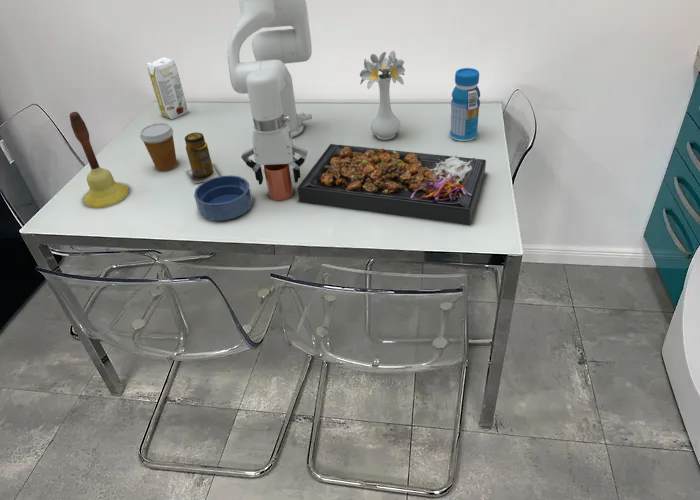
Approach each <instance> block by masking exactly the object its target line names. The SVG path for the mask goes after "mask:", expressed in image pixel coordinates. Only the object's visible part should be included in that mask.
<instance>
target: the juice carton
mask: <svg viewBox="0 0 700 500" xmlns="http://www.w3.org/2000/svg"><path fill="white" fill-rule="evenodd" d="M146 68H147V74H148V76H149V80H150V83H151V86H152V90H153V93H154V97H155V100H156V103H157V107H158V110H159V112H160V114H161V116H162V117H165V118H167V119H169V120H175V119H177V118H179V117H181V116H183V115H185V114H187V113H188V112H189V111H188V105H187V101H186V97H185V92H184V90H183V89H184V88H183V87H182V82H181V78H180V75H179V71H178V67H177V64H176V61H175V60H174V59H172V58H169V57H165V56H163V57H160V58H158V59H156V60H154V61H150V62H149V61H148V62H146Z"/></svg>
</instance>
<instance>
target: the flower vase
mask: <svg viewBox="0 0 700 500" xmlns="http://www.w3.org/2000/svg"><path fill="white" fill-rule="evenodd" d="M386 55H387V52H386V51H384V52H382V53H381V54H380V55H379V57H378V55H376V53H372V54H371V55H370V61H369V60H367V59H366V58H364V60H363V67H364V69H362V70H361V71H360V72H359V77H361V80H360V85H362V84H363V82H364V81H368V82H367V84H366V88H367V89H368V90H370V88H372V86H373V84H374V83H378V89H379V90H378V92H379V106H378V111H377V114H376V115H375V117H373V119H372V121H371V122H370V130H371V131H372V133H373V134H374V135H375V137H376V138H377V139H379V140H383V141H388V140H392V139H394V138H395V137H396V135H397V133H399V131H400V130H401V128H402V124H401V121H400V119H399V118H398V117H397V115H395V114H394V113H393V110H392V107H391V96H390V87H391V80H392V83H393V84H396V83H397V82H398V83H399V84H400V85H404V84H405V83H404V79H403V77H402V76H405V72H406V69H405V67H404V64H405V61H404V60H403V59H401V58H400V59H398V58H397V57H396V52H395V50H391V51H390V53H389V55H388V57H386ZM379 72H381V73H379ZM401 75H402V76H401Z"/></svg>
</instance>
